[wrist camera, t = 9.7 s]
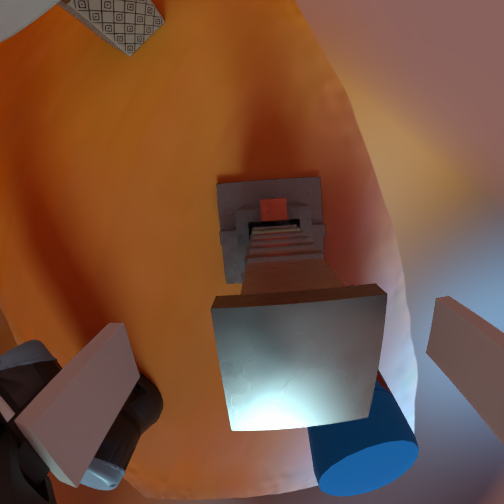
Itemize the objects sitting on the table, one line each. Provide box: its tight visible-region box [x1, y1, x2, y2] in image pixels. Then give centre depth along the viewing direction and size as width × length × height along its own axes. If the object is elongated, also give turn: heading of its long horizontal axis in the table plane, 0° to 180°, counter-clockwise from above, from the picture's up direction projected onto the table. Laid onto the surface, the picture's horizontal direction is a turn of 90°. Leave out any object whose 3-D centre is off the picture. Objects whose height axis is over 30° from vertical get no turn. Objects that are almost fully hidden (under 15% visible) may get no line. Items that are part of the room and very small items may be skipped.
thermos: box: [307, 370, 419, 496], centre depth 31 cm, size 11×11×25 cm
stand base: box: [216, 177, 326, 284], centre depth 33 cm, size 14×14×13 cm
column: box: [211, 223, 387, 431], centre depth 20 cm, size 5×5×23 cm
